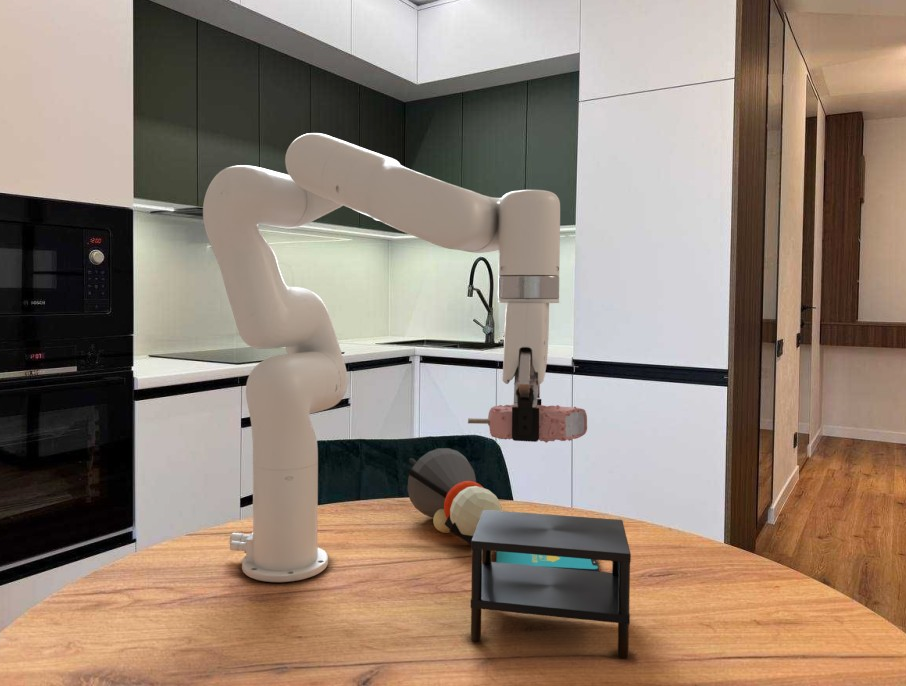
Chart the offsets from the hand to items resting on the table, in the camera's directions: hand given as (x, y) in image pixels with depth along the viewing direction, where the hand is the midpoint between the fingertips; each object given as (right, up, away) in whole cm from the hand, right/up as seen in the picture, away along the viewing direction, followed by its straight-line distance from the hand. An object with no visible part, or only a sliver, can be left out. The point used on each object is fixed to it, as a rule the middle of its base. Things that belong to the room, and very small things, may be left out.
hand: (527, 433), depth 87 cm
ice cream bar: (0, -1, 0) cm, 1 cm away
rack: (+3, -24, -1) cm, 24 cm away
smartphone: (+6, -23, +19) cm, 30 cm away
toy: (-9, -23, +36) cm, 43 cm away
